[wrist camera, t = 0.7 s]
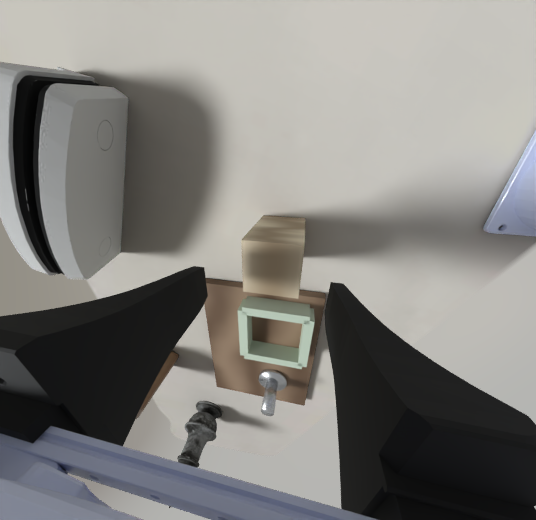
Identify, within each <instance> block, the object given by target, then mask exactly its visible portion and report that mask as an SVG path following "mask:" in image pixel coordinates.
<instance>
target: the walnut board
mask: <svg viewBox="0 0 536 520" xmlns="http://www.w3.org/2000/svg"><path fill="white" fill-rule="evenodd" d="M206 285H207V293H208V297H207V299H206V301H205V303H204V304H205V311H206V318H207V324H208V331H209V337H210V344H211V350H212V357H213V364H214V370H215V377H216V383H217V387H221V388H226V389H230V390H235V391H239V392H244V393H249V394H253V395H258V396H262V397H264V393H265V387H263V386H262V385H261V384H260V383H259V374H260V372H261V371H263V370H266V369H273V370H277V371H279V372H281V373H283V374H284V375H285V377H286V379H287V385H286V387H285V388H284V389H283V390H280V391H277V394H276V400H281V401H286V402H290V403H295V404H299V405H305V400H306V395H307V390H308V385H309V380H310V375H311V370H312V365H313V360H314V355H315V350H316V345H317V340H318V335H319V330H320V325H321V320H322V315H323V309H324V304H325V299H326V298H325V293H319V292H311V291H303V290H299V297H298V299H296V298H288V297H281V296H273V295H266V294H258V293H251V292H243V283H240V282H232V281H224V280H216V279H209V278H206ZM247 296H252V297H259V298H267V299H274V300H281V301H289V302H296V303H303V304H310V308H313V309H314V319H315V323H314V328H313V334H312V339H311V345H310V350H309V356H308V362H307V367H302V369H297V368H292V367H287V366H281V365H276V364H271V363H266V362H260V361H255V360H250V359H244V356H243V355H240V344H239V326H238V308H239V306H240V304H241V302H242V300H243V299H246V298H247ZM301 330H302V324H300V323H294V322H287V321H281V320H274V319H268V318H261V317H254V316H252V340H253V341H259V342H265V343H271V344H277V345H282V346H288V347H294V348H299V344H300V337H301Z"/></svg>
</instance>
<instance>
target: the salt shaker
mask: <svg viewBox="0 0 536 520" xmlns="http://www.w3.org/2000/svg"><path fill="white" fill-rule="evenodd" d="M196 408H197V410H198V413H196V414H194V415H193V416H192V417H191V418H190V420H189V422H187V423H186V424H185V430H186V431H187V432H188V438H187V442H186V444H185V446H184V449H183V451H182V453H181V455H179V456H178V462H179V463H182V464H186V465H189V466H193V467H196V468H197V467H198V466H199V463H198V461H199V458H200V455H201V453H202V450H203V448H204V446H205V444H206V443H207V442H208V441H213V440H214V439H215V438H216V430H217V423H216V420H215V419H216V418H219V417H221V416H222V410H221V409H220V408H219V407H218V406H217V405H215V404H213V403H211V402H208V401H200V402H198V403H197V404H196ZM170 507H171V506H169V508H170Z"/></svg>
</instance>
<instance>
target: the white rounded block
mask: <svg viewBox="0 0 536 520" xmlns="http://www.w3.org/2000/svg"><path fill="white" fill-rule="evenodd" d="M57 69H58V70H56V69H48V68H41V67H34V66H26V65H19V64H11V63H4V62H0V217H1V220H2V223H3V225H4V227H5V229H6V231H7V233H8V235H9V237H10V239H11V241H12V243H13V244H14V246H15V248H16V250H17V251H18V252H19V254H20V255H21V256H22V258H23V259H24V260H25V261H26V263H27V264H28V265H29V266H30V267H31V268H32V269H34V270H37V271H40V272H43V273H45V274H48V275H56V274H60V273H62V274H64V275H65V276H66V277H67V278H69V279H89V278H91V277H92V276H93V275H94V274H95V273H97V272H98V271H99V270H100V269H101V268H103V267H104V266H105V265H106V264H107V263H109V262H110V261H111V260H112V259H113V258H115V257H116V256H117V255H118V254H119V253H121V237H122V217H123V197H124V178H125V158H126V138H127V118H128V97H127V96H125V95H124V94H123V93H121V92H120V91H119V90H117V89H116V88H114V87H105V86H99V85H98V84H96V83H94V77H90V76H87V75H84V74H80V73H77V72H74V71H70V70H67V69H64V68H60V67H57Z"/></svg>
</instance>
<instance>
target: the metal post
mask: <svg viewBox="0 0 536 520" xmlns="http://www.w3.org/2000/svg"><path fill="white" fill-rule="evenodd" d="M259 383H260V384H261V385H262V386H263V387H265V393H264V398H263V404H262V409H261V412H262V413H263V414H264V415H267V416H272V415H274V409H275V402H276V394H277V391H280V390H283V389H284V388H285V387H286V385H287V379H286V377H285V375H284V374H283V373H281V372H279V371H277V370H273V369H266V370H263V371H261V372H260V374H259Z"/></svg>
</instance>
